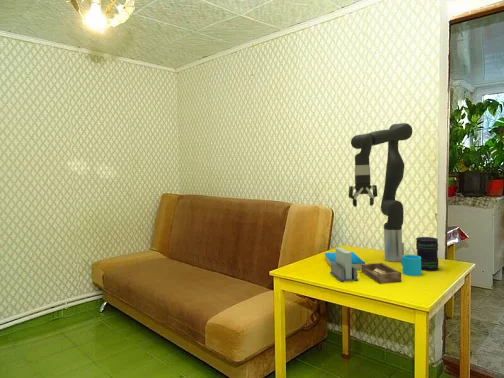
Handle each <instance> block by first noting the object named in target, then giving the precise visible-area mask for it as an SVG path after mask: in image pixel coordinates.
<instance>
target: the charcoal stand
mask: <svg viewBox="0 0 504 378" xmlns="http://www.w3.org/2000/svg"><path fill="white" fill-rule="evenodd" d="M329 274H330V275H331V276H333V278H335V279H336V280H337V281H338V282H339V283H345V282H357V281H359V278H358V270H357V268H356V267H355V266H353V265H352V279H345V276H344V268H342V267H341V266H340V265H338V264H337V263H335V262H334V261H331V266H330V272H329Z"/></svg>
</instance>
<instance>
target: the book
mask: <svg viewBox="0 0 504 378" xmlns="http://www.w3.org/2000/svg"><path fill="white" fill-rule="evenodd" d="M350 252H351V260H352V265H353V266H355V267H356V268H357V271H359V270H360V271H362V265H361V264H366V262H365V261H364V260H363V259H362V258H360V257H359V255H357V254H356V252H355V253H354V252H353V251H350ZM324 259H325V261H326V262H327V263H328V265H329V267H331V261H334V262H335V263H336V251H335V252H334V251H333V252H324Z"/></svg>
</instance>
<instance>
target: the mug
mask: <svg viewBox="0 0 504 378" xmlns="http://www.w3.org/2000/svg"><path fill="white" fill-rule="evenodd" d="M400 263H401V264H400V265H401V267H402V274H403V275H405V276H408V277H409V276H410V277H420V276H422V270H421V257H420V256H417V254H416V255H415V254H404V255H403V256H402V259H401V261H400Z"/></svg>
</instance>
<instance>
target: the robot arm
mask: <svg viewBox="0 0 504 378" xmlns="http://www.w3.org/2000/svg"><path fill="white" fill-rule="evenodd" d="M412 135H413V127H412V126H411V124H409V123H406V122H404V123H401V122H400V123H394V124H392V125H390V126H389V128H388V129H381V130H380V129H379V130H375V131H371V132H369V133H363V134H361V133H360V134H356V135H354V136H353V137H352V138H351V139H350V144H351V147H352V148H354V149H356V150H360V151H359V152H358V153H356V154H355V156H354V186H352V185H350V186H348V198H349V199H352V205H353V207H355V208H357V206H358V203H357V202H358V197H359V196H360V195H367V196H368V197H369V206H370V207H371V206H374V204H375V198H377V197H378V188H377V185H376V184H373V185H371V167H370V155H371V152H372V147H374V146H377V145H382V144H385V143H387V158H386V159H387V160H386V169H385V179H384V185H383V187H384V188H383V193H382V194H383V195H382V198H381V204H380V211H381V213H382V214H383V215H384V216H386V217H387V221H386V222H385V223H384V224H383V245H384V247H383V248H384V252H383V253H384V255H383V257H384V260H385V261H387V262H394V263H395V262H401V259H402V256H403V255H405V246H404V245H405V244H404V242H403V224H404V214H405V212H404V205H403V203H402V202H401V201H400V200H397V199H396V197H397V191H398V188H399V186H400V184H401V183H402V180H403V178H404V174H405V162H404V160H403V157H402V155H401V154H400V149H399V141H407V140H408V139H409V140H410V138H411V137H412ZM354 190H355V192H354ZM371 190H372V191H371Z"/></svg>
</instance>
